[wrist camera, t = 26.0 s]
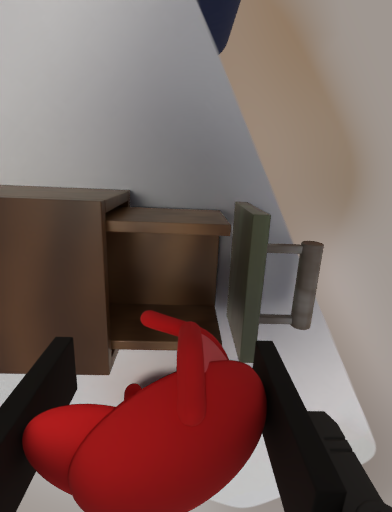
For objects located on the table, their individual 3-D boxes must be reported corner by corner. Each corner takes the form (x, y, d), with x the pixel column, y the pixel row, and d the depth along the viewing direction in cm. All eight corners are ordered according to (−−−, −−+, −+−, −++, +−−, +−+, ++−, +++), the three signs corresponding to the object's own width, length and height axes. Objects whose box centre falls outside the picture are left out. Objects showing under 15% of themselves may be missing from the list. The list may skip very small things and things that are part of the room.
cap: (248, 292, 13) (297, 392, 7) (254, 404, 15) (298, 558, 9) (65, 312, 13) (-33, 427, 7) (93, 421, 15) (32, 585, 9)
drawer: (299, 204, 28) (341, 217, 20) (283, 316, 31) (314, 364, 23) (88, 196, 27) (49, 206, 19) (95, 311, 30) (64, 359, 23)
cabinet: (130, 190, 28) (101, 201, 18) (132, 313, 31) (109, 375, 22) (-44, 183, 27) (-166, 191, 18) (-21, 309, 31) (-112, 372, 21)
